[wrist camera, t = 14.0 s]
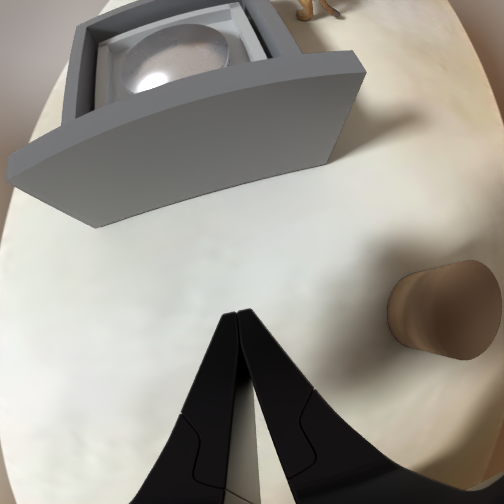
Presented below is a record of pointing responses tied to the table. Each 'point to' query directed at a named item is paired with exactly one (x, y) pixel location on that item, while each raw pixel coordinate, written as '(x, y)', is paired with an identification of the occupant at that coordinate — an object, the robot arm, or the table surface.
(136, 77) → the disc
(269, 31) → the dock
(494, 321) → the post
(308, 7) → the lion figurine
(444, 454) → the table surface
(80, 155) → the tray
